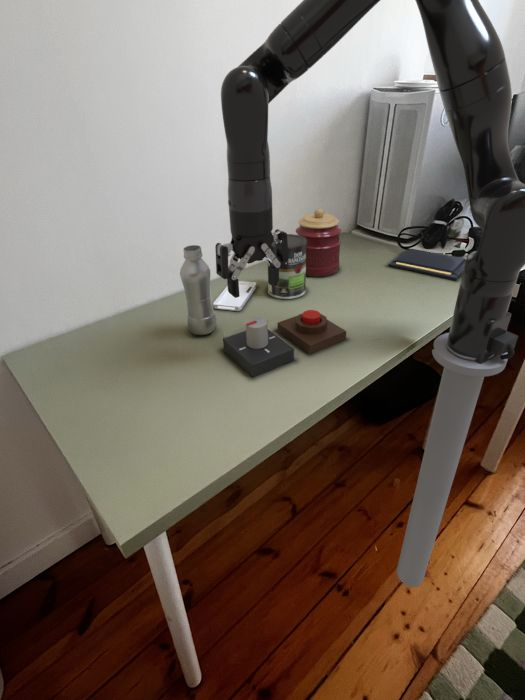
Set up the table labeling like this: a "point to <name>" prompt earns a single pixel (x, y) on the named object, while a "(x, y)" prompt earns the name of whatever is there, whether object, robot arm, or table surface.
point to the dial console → (258, 353)
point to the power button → (311, 317)
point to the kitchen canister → (320, 243)
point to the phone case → (232, 303)
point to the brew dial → (257, 332)
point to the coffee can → (291, 270)
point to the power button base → (311, 333)
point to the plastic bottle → (197, 291)
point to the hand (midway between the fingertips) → (254, 290)
